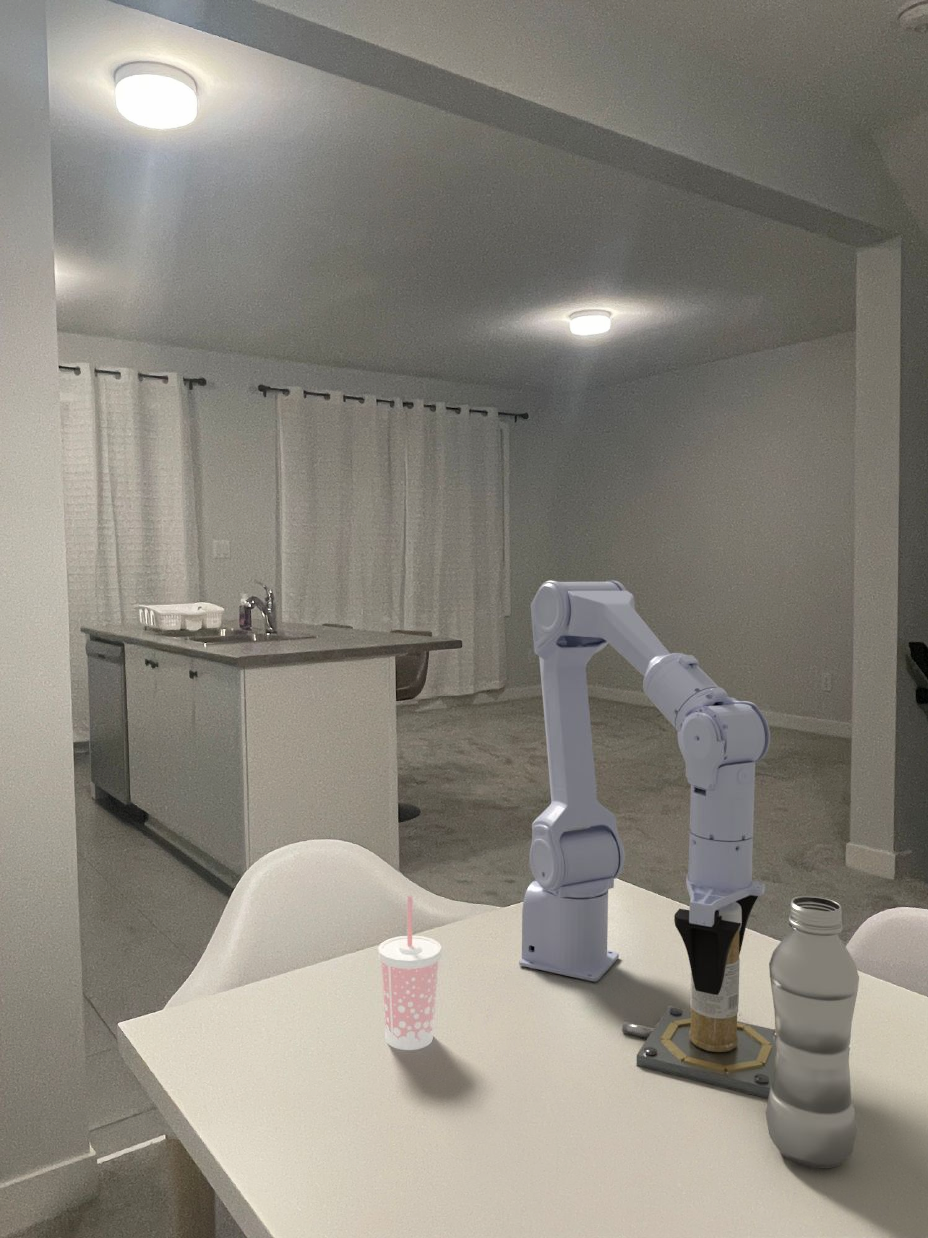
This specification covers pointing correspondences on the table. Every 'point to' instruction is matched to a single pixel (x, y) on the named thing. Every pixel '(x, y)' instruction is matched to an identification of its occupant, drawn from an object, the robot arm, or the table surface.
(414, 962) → the beverage cup
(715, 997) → the sprinkles bottle
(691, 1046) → the octagon fixture plate
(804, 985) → the plastic bottle
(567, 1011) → the table surface
